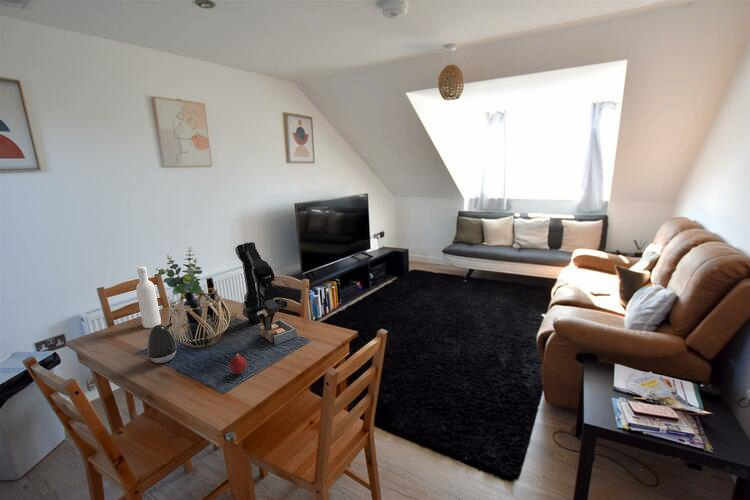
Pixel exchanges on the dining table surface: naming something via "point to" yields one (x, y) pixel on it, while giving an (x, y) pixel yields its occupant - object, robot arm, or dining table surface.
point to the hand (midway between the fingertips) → (267, 325)
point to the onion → (238, 364)
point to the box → (286, 335)
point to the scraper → (267, 329)
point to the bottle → (147, 300)
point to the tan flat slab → (233, 316)
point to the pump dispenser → (161, 344)
